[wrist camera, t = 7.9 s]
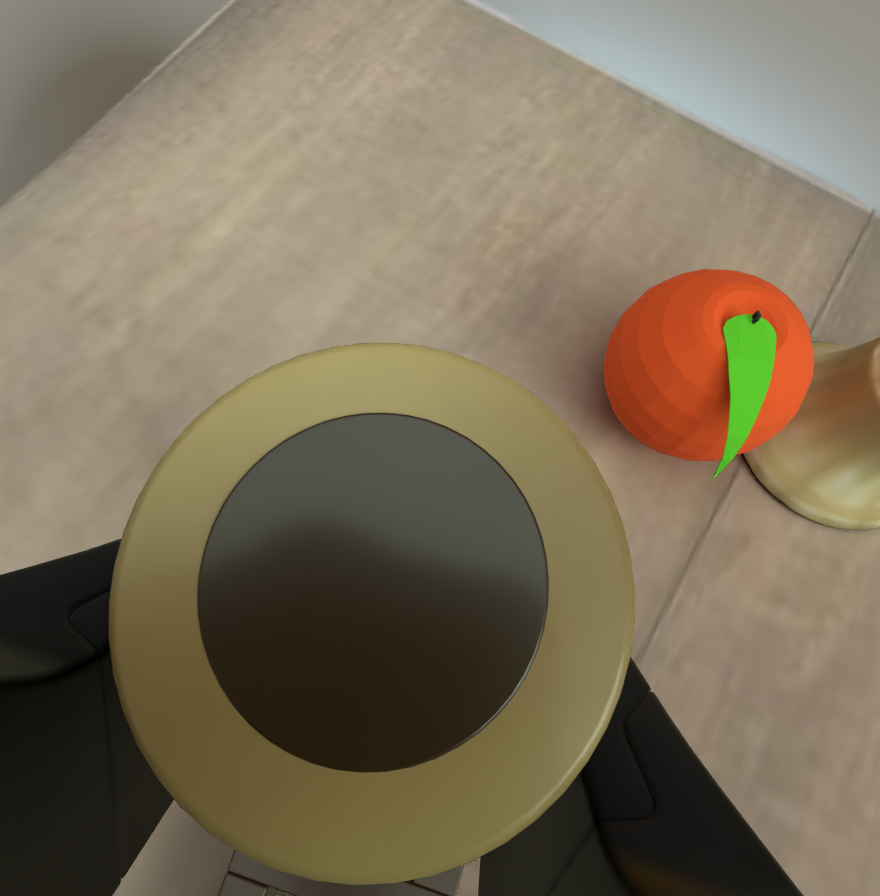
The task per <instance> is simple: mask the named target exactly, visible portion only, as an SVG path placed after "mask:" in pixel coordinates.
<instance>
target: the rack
mask: <svg viewBox="0 0 880 896" xmlns="http://www.w3.org/2000/svg"><path fill="white" fill-rule="evenodd" d="M463 867H464V865H461V866H458V867H456V868H453V869H450V870H447V871H445V872H442V873H439V874H436V875H434V876H429V877H424V878H419V879H414V880H409V881H404V882H399V883H390V884H368V885H350V884H341V883H332V882H323V881H315V880H312V879H308V878H304V877H301V876H297V875H293V874H290V873H286V872H282V871H279V870H276V869H274V868H272V867H270V866H267V865H265V864H263V863H261V862H258V861H256V860H254V859H252V858H250V857H247V856H245V855H243V854H241V853H239V852H238V851H236V850H235V849H234V852H233V855H232V857H231V860H230V863H229V865H228V871H227V872H226V874H225V877H224V879H223V882H222V885H221V887H220V890H219V893H218V896H275V894H276V891H277V889H278V890H280V891H283V892H286V893H288V894H291V895H294V896H456V895H457V891H458V887H459V883H460V879H461V875H462V871H463Z"/></svg>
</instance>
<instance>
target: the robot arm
mask: <svg viewBox="0 0 880 896" xmlns="http://www.w3.org/2000/svg"><path fill="white" fill-rule="evenodd" d="M120 543H121V539H119V540H116V541H113V542H110V543H107V544H104V545H101V546H98V547H95V548H92V549H89V550H86V551H82V552H79V553H75V554H72V555H69V556H65V557H62V558H59V559H55V560H52V561H48V562H45V563H42V564H38V565H34V566H31V567H27V568H24V569H20V570H16V571H13V572H9V573H6V574H2V575H0V896H112V895H113V894H114V892H115V891H116V889H117V888H118V886H119V885H120V883H121V878H123V877H124V876H125V875H126V873H127V872H128V870H129V868H130V867H131V865H132V864H133V862H134V861H135V859H136V858H137V856H138V854H139V853H140V851H141V850H142V848H143V847H144V845H145V843H146V842H147V840H148V839H149V837H150V836H151V834H152V833H153V831H154V829H155V828H156V826H157V825H158V823H159V822H160V820H161V819H162V817H163V815H164V814H165V812H166V811H167V809H168V808H169V806H170V805H171V803H172V801H173V800H174V798H173V797H172V796H171V795H170V793H169V792H168V791H167V790H166V788H165V787H164V786H163V785H162V784H161V782H160V781H159V780H158V779H157V777H156V776H155V774H154V772H153V771H152V769H151V767H150V766H149V764H148V762H147V761H146V759H145V757H144V756H143V754H142V752H141V751H140V749H139V747H138V746H137V744H136V741H135V739H134V736H133V734H132V732H131V729H130V727H129V724H128V722H127V720H126V717H125V715H124V713H123V710H122V706H121V702H120V699H119V695H118V691H117V687H116V683H115V679H114V676H113V669H112V661H111V652H110V644H109V599H110V592H111V585H112V578H113V571H114V565H115V561H116V557H117V554H118V550H119V546H120ZM650 691H651V688H650V686H649V684H648V683H647V681H646V680H645V678H644V677H643V675H642V674H641V672H640V671H639V669H638V667H637V666H636V664H635V663H634V661H633V660H632V658H631V657H630V660H629V664H628V668H627V672H626V676H625V680H624V683H623V687H622V691H621V695H620V697H619V699H618V702H617V704H616V707H615V709H614V712H613V714H612V717H611V719H610V722H609V724H608V727H607V729H606V731H605V732H604V734H603V736H602V738H601V740H600V741H599V743H598V745H597V747H596V748H595V750H594V752H593V754H592V755H591V757H590V759H589V761H588V762H587V764H586V765H585V766H584V767H583V769H582V770H581V771H580V773H579V774H578V775H577V777H576V778H575V779H574V781H573V782H572V783H571V784H570V786H569V787H568V788H567V790H566V791H565V792H564V793H563V794H562V795H561V796H560V797H559V798H558V799H557V800H556V801H555V802H554V803H553V804H552V805H551V806H550V807H549V808H548V809H547V810H546V811H545V812H544V813H543V814H542V815H541V816H540V817H539V818H538V819H537V820H536V821H534V822H533V823H532V824H530V825H529V826H528V827H526V828H525V829H524V830H522V831H521V832H520V833H518V834H517V835H516V836H514V837H513V838H512V839H510V840H509V841H508V842H506V843H505V844H503V845H501V846H499V847H497V848H496V849H494V850H492V851H490V852H488V853H486V854H485V855H483V856H481V860H480V875H479V890H478V896H803V894H802V893H801V892H800V891H799V889H798V888H797V887H796V886H795V884H794V883H793V882H792V880H791V879H790V878H789V877H788V875H787V874H786V873H785V871H784V870H783V869H782V867H781V866H780V865H779V863H778V862H777V861H776V860H775V858H774V857H773V856H772V854H771V853H770V852H769V850H768V849H767V848H766V847H765V845H764V844H763V843H762V841H761V840H760V839H759V837H758V836H757V835H756V834H755V832H754V831H753V830H752V828H751V827H750V826H749V824H748V823H747V822H746V821H745V819H744V818H743V817H742V815H741V814H740V813H739V811H738V810H737V809H736V808H735V806H734V805H733V804H732V802H731V801H730V800H729V798H728V797H727V796H726V795H725V793H724V792H723V791H722V789H721V788H720V787H719V785H718V784H717V783H716V781H715V780H714V779H713V777H712V776H711V774H710V773H709V772H708V770H707V769H706V768H705V766H704V765H703V764H702V762H701V761H700V760H699V758H698V757H697V756H696V754H695V753H694V752H693V750H692V749H691V747H690V746H689V744H688V743H687V742H686V740H685V739H684V737H683V736H682V734H681V733H680V731H679V730H678V728H677V727H676V725H675V724H674V722H673V721H672V719H671V718H670V716H669V715H668V714H667V712H666V710H665V709H664V707H663V706H662V704H661V703H660V701H659V700H658V698H657V696H656V695H655V693H653V692H650Z"/></svg>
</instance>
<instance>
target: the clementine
mask: <svg viewBox="0 0 880 896" xmlns="http://www.w3.org/2000/svg"><path fill="white" fill-rule="evenodd" d="M813 366H814V354H813V348H812V343H811V338H810V333H809V328H808V326H807V324H806V322H805V320H804V318H803V316H802V314H801V312H800V311H799V309H798V308H797V307H796V306H795V304H794V303H793V302H792V301H791V300H790V298H789V297H788V296H787V295H785V294H784V293H783V292H781V291H780V290H779V289H778V288H776V287H775V286H774V285H772V284H770V283H768V282H766V281H764V280H762V279H760V278H758V277H756V276H754V275H750V274H746V273H742V272H738V271H730V270H709V269H702V270H698V271H693V272H688V273H684V274H681V275H678V276H676V277H673V278H671V279H668V280H666V281H664V282H662V283H660V284H658V285H656V286H654V287H652V288H650V289H649V290H648V291H646V292H645V293H644V294H643V295H642V296H641V297H640V298H639V299H638V300H637V301H636V302H635V303H634V304H633V305H632V306H631V307H630V308H629V309H628V310H627V311H626V312H625V313H624V314H623V315H622V316H621V318H620V320H619V322H618V323H617V325H616V327H615V329H614V331H613V332H612V335H611V337H610V340H609V343H608V346H607V350H606V355H605V360H604V364H603V367H604V379H605V388H606V392H607V395H608V398H609V401H610V403H611V406H612V409H613V411H614V413H615V414H616V416H617V417H618V419H619V420H620V422H621V423H622V425H623V426H624V428H625V429H626V430H627V431H629V432H630V433H631V434H632V435H633V436H634V437H635V438H636V439H637V440H639V441H640V442H641V443H643V444H645V445H647V446H648V447H650V448H652V449H654V450H656V451H658V452H660V453H664V454H667V455H671V456H674V457H678V458H682V459H685V460H692V461H714V460H718V459H721V462H720V464H719V466H718V468H717V470H716V472H715V474H714V476H713V479H714V478H715V477H716V476H717V475H718V474H719V473H720V472H721V471H722V470H723V469H724V468H725V467H726V466H727V465H728V463H729V462H730V461H731V460H732V459H733V458H734V456H735V455H738V454H742V453H745V452H749V451H751V450H753V449H755V448H756V447H758V446H760V445H761V444H763V443H765V442H766V441H768V440H770V439H771V438H772V437H773V436H775V435H776V434H777V433H778V432H780V431H781V430H782V429H783V428H784V427H785V426H786V425H787V424H788V422H789V421H790V420H791V419H792V418H793V417H794V416H795V414H796V413H797V412H798V410H799V408H800V406H801V404H802V401H803V399H804V397H805V395H806V392H807V390H808V388H809V385H810V383H811V381H812V377H813Z"/></svg>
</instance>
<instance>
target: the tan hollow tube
mask: <svg viewBox="0 0 880 896" xmlns="http://www.w3.org/2000/svg"><path fill="white" fill-rule="evenodd" d="M634 623H635V587H634V579H633V572H632V564H631V556H630V551H629V547H628V543H627V539H626V535H625V531H624V527H623V523H622V520H621V517H620V515H619V512H618V510H617V507H616V505H615V502H614V500H613V497H612V495H611V492H610V490H609V488H608V486H607V484H606V482H605V480H604V479H603V477H602V475H601V473H600V471H599V469H598V468H597V466H596V464H595V462H594V461H593V459H592V458H591V456H590V455H589V454H588V452H587V451H586V449H585V448H584V447H583V445H582V444H581V442H580V441H579V440H578V438H577V437H576V436H575V434H574V433H573V432H572V431H571V430H570V429H569V428H568V427H567V426H566V425H565V424H564V422H563V421H562V420H561V419H560V418H559V417H558V416H557V415H556V414H555V413H554V412H553V411H552V410H551V409H550V408H548V407H547V406H546V405H545V404H544V403H543V402H541V401H540V400H539V399H538V398H537V397H536V396H534V395H533V394H532V393H531V392H529V391H528V390H526V389H525V388H523V387H522V386H520V385H519V384H517V383H516V382H514V381H513V380H511V379H510V378H508V377H507V376H505V375H503V374H501V373H499V372H497V371H495V370H493V369H491V368H489V367H487V366H485V365H483V364H481V363H479V362H476V361H473V360H470V359H468V358H465V357H462V356H459V355H456V354H453V353H451V352H446V351H442V350H437V349H433V348H429V347H424V346H418V345H408V344H399V343H360V344H352V345H344V346H337V347H331V348H327V349H323V350H319V351H315V352H311V353H307V354H303V355H300V356H297V357H295V358H292V359H290V360H287V361H284V362H282V363H279V364H276V365H274V366H272V367H270V368H268V369H266V370H264V371H262V372H260V373H258V374H256V375H254V376H253V377H251V378H249V379H247V380H245V381H244V382H242V383H241V384H239V385H238V386H236V387H235V388H233V389H232V390H230V391H229V392H227V393H226V394H224V395H223V396H221V397H220V398H219V399H218V400H216V401H215V402H214V403H213V404H212V405H211V406H209V407H208V408H207V409H206V410H205V411H204V412H202V413H201V414H200V415H199V416H198V417H197V418H195V419H194V420H193V422H192V423H191V424H190V425H189V426H188V427H187V428H186V429H185V430H184V431H183V432H182V434H181V435H180V436H179V437H178V438H177V439H176V440H175V441H174V442H173V443H172V445H171V446H170V448H169V449H168V450H167V452H166V453H165V454H164V456H163V457H162V459H161V460H160V461H159V463H158V464H157V465H156V467H155V468H154V470H153V471H152V473H151V475H150V477H149V478H148V480H147V482H146V484H145V486H144V487H143V489H142V491H141V493H140V495H139V496H138V498H137V500H136V502H135V505H134V507H133V510H132V512H131V515H130V517H129V520H128V522H127V524H126V527H125V529H124V532H123V535H122V539H121V543H120V546H119V550H118V554H117V557H116V561H115V565H114V571H113V578H112V585H111V592H110V599H109V644H110V652H111V661H112V669H113V676H114V679H115V683H116V687H117V691H118V695H119V699H120V702H121V706H122V710H123V713H124V715H125V717H126V720H127V722H128V724H129V727H130V729H131V732H132V734H133V736H134V739H135V741H136V744H137V746H138V747H139V749H140V751H141V752H142V754H143V756H144V757H145V759H146V761H147V762H148V764H149V766H150V767H151V769H152V771H153V772H154V774H155V776H156V777H157V779H158V780H159V781H160V782H161V784H162V785H163V786H164V787H165V788H166V790H167V791H168V792H169V793H170V795H171V796H172V797H173V798H174V799H175V801H176V802H177V803H178V804H179V806H180V807H181V808H182V809H183V810H185V811H186V812H187V813H188V814H189V815H190V816H191V817H192V818H193V819H195V820H196V821H197V822H198V823H199V824H200V825H201V826H202V827H203V828H205V829H206V830H207V831H208V832H209V833H210V834H212V835H213V836H215V837H217V838H218V839H220V840H221V841H223V842H224V843H226V844H227V845H229V846H230V847H232V848H233V849H235V850H236V851H238V852H239V853H241V854H243V855H245V856H247V857H250V858H252V859H254V860H256V861H258V862H261V863H263V864H265V865H267V866H270V867H272V868H274V869H276V870H279V871H282V872H286V873H290V874H293V875H297V876H301V877H304V878H308V879H312V880H315V881H323V882H332V883H341V884H350V885H368V884H390V883H399V882H404V881H409V880H414V879H419V878H424V877H429V876H434V875H436V874H439V873H442V872H445V871H447V870H450V869H453V868H456V867H458V866H461V865H464V864H467V863H469V862H472V861H473V860H475V859H477V858H479V857H481V856H483V855H485V854H486V853H488V852H490V851H492V850H494V849H496V848H497V847H499V846H501V845H503V844H505V843H506V842H508V841H509V840H510V839H512V838H513V837H514V836H516V835H517V834H518V833H520V832H521V831H522V830H524V829H525V828H526V827H528V826H529V825H530V824H532V823H533V822H534V821H536V820H537V819H538V818H539V817H540V816H541V815H542V814H543V813H544V812H545V811H546V810H547V809H548V808H549V807H550V806H551V805H552V804H553V803H554V802H555V801H556V800H557V799H558V798H559V797H560V796H561V795H562V794H563V793H564V792H565V791H566V790H567V788H568V787H569V786H570V784H571V783H572V782H573V781H574V779H575V778H576V777H577V775H578V774H579V773H580V771H581V770H582V769H583V767H584V766H585V765H586V764H587V762H588V761H589V759H590V757H591V755H592V754H593V752H594V750H595V748H596V747H597V745H598V743H599V741H600V740H601V738H602V736H603V734H604V732H605V731H606V729H607V727H608V724H609V722H610V719H611V717H612V714H613V712H614V709H615V707H616V704H617V702H618V699H619V697H620V695H621V691H622V687H623V683H624V680H625V676H626V672H627V668H628V664H629V660H630V655H631V647H632V639H633V631H634Z"/></svg>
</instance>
